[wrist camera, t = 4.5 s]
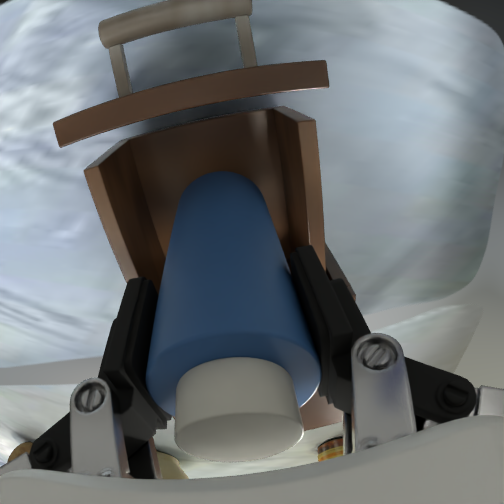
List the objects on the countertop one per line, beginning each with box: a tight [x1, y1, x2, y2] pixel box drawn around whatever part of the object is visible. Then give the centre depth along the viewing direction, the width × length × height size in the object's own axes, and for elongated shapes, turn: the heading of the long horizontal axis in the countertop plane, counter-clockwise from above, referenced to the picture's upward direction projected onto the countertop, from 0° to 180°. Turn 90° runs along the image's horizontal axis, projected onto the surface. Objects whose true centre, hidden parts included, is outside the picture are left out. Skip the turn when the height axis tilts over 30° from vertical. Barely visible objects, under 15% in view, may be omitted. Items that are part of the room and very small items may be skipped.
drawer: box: [53, 0, 329, 296], centre depth 16 cm, size 18×11×7 cm, turn 8°
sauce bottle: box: [318, 438, 343, 462], centre depth 37 cm, size 7×6×20 cm
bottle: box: [145, 171, 322, 462], centre depth 11 cm, size 5×5×12 cm
